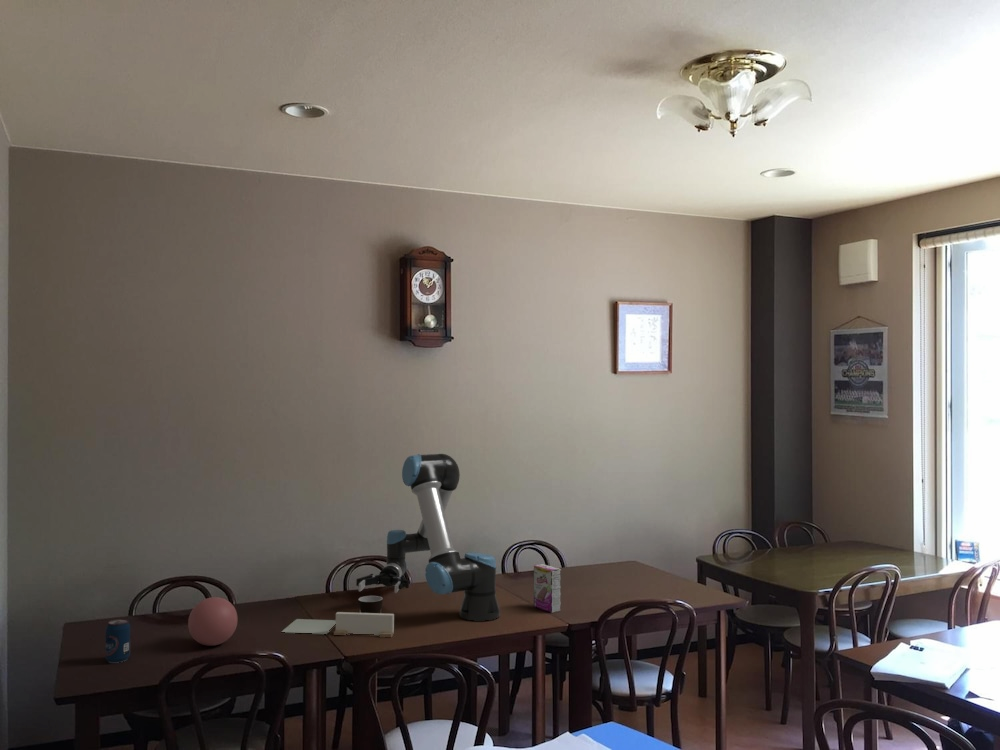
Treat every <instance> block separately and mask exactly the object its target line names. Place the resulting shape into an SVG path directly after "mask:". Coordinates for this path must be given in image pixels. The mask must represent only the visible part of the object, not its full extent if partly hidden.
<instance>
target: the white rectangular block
mask: <svg viewBox="0 0 1000 750" xmlns="http://www.w3.org/2000/svg"><path fill="white" fill-rule="evenodd" d="M335 620H336V625H335V631H334V632H333V636H334V635H346V634H347V635H349V634H348V633H353V634H374V635H373V636H379V635H380V636H379V638H385V637H391V638H392V637H393V636H394V635H393V634H395V632H394V631H395V614H394V613H383V612H381V613H360V612H345V611H337V612H336V613H335ZM347 635H346V636H347Z"/></svg>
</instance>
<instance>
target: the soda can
mask: <svg viewBox="0 0 1000 750" xmlns="http://www.w3.org/2000/svg"><path fill="white" fill-rule="evenodd" d="M104 653H105V656H104V658H105V660H106V661H107V662H108V663H109V664H120V663H119V662H121V663H124V662H126V661H128V660H129V658H130V656H131V624H130V622H129V619H127V618H116V619H112V620H109V621H108V622H107V625H106V627H105V652H104ZM123 661H124V662H123Z"/></svg>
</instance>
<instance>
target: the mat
mask: <svg viewBox="0 0 1000 750" xmlns="http://www.w3.org/2000/svg"><path fill="white" fill-rule="evenodd" d="M335 624H336V619H310V618H309V619H308V618H307V619H306V618H305V619H303V618H296V619H294V620H293V622H291V623H290V624H289V625H287V626H286V627H285V628H284V629H283V630H282V631H281V632H285V633H284V634H295V633H312V634H311V635H324V634H326V635H327V634H328V633H329V632H330V631H331V630H332V629H333V628H334V627H335V626H336V625H335ZM334 625H335V626H334ZM333 626H334V627H333ZM332 627H333V628H332ZM331 628H332V629H331ZM330 629H331V630H330ZM329 630H330V631H329Z"/></svg>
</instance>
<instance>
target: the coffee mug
mask: <svg viewBox="0 0 1000 750" xmlns="http://www.w3.org/2000/svg"><path fill="white" fill-rule="evenodd" d="M383 600H384V598H383V597H382V596H379V595H365V596H360V597H359V598H358V601H357V602H358V608H359V613H382V608H383Z"/></svg>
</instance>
